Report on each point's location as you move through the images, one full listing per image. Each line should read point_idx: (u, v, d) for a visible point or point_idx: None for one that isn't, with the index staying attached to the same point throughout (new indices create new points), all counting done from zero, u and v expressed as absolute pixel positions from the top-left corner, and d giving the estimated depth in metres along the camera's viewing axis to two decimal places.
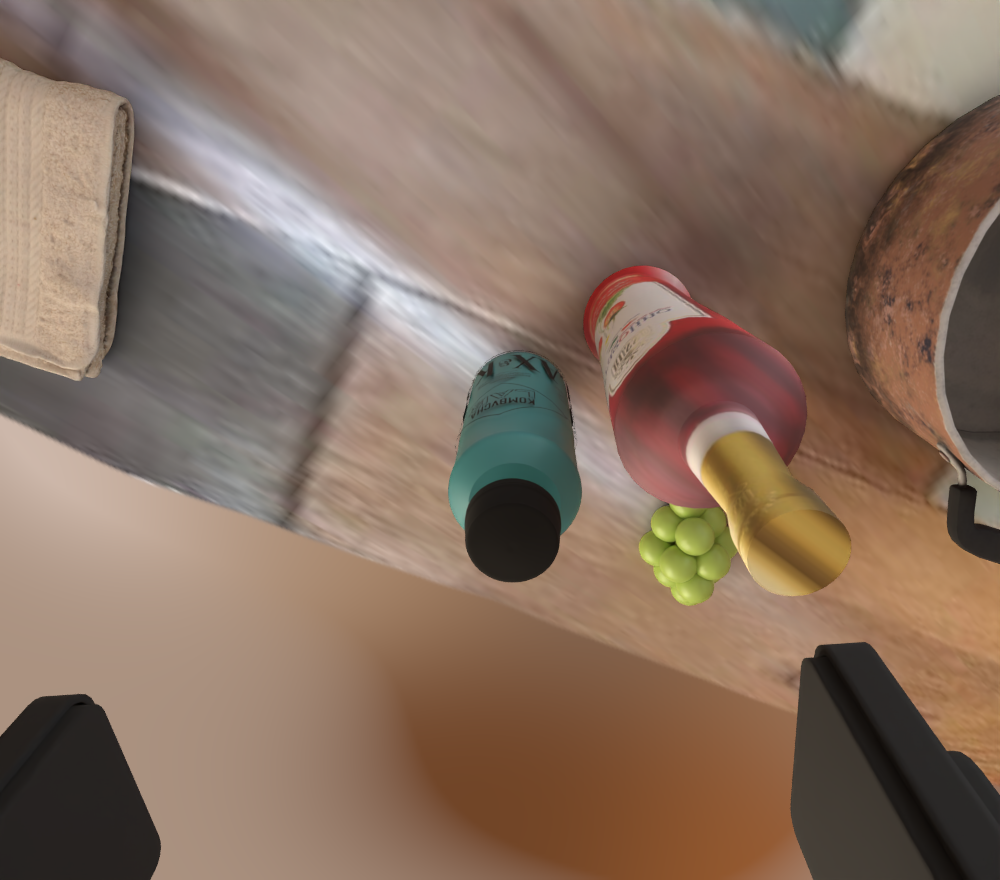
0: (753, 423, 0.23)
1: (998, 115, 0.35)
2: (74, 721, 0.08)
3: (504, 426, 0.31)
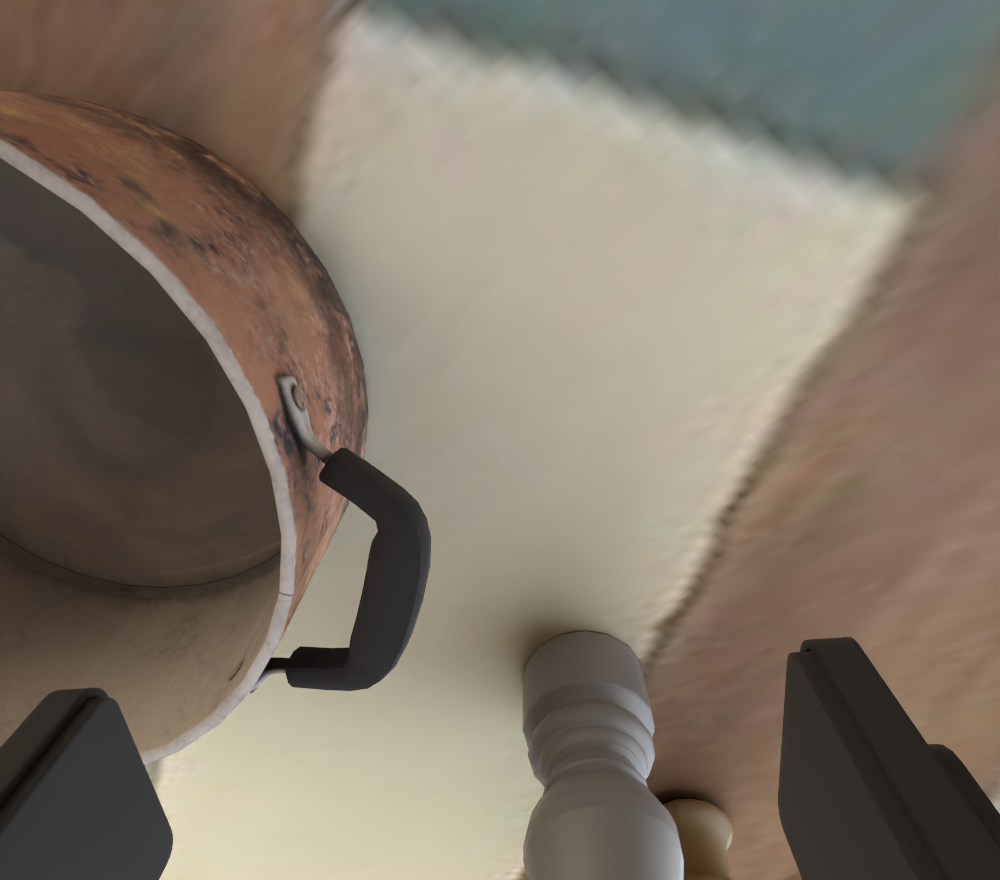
0: None
1: (257, 231, 0.22)
2: (89, 714, 0.08)
3: None
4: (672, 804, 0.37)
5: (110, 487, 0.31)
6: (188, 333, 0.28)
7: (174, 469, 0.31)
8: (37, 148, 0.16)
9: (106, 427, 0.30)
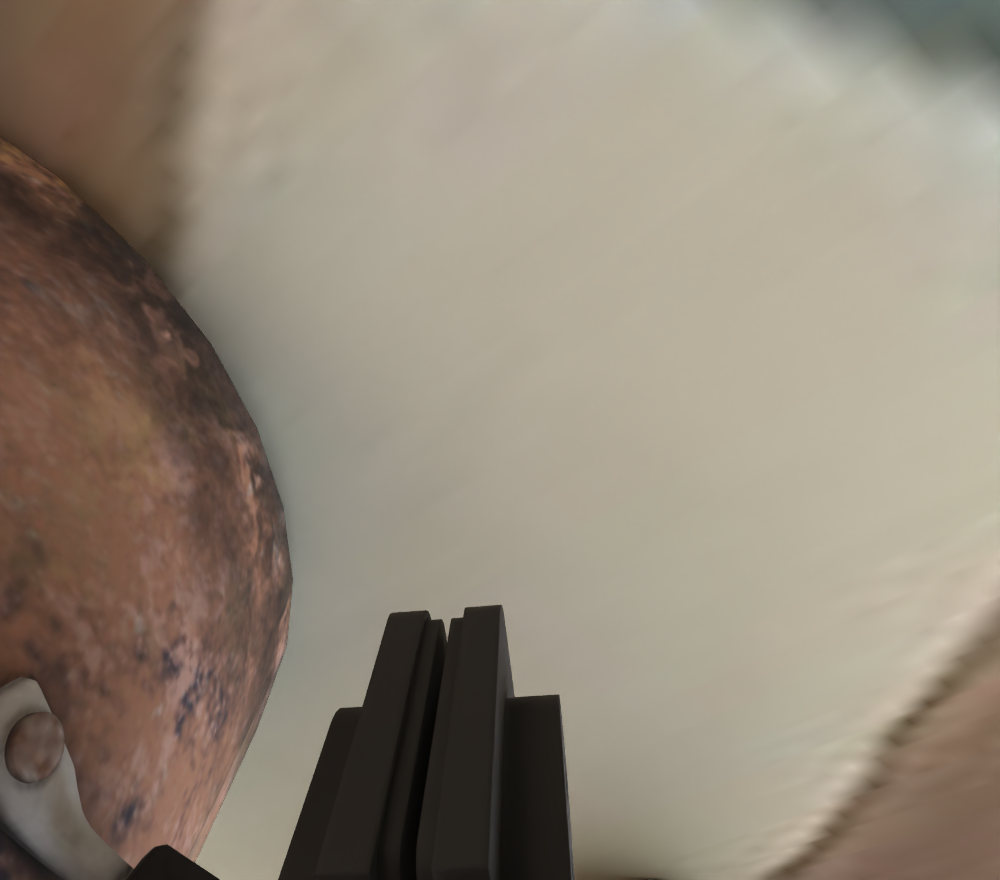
0: None
1: (22, 293, 0.10)
2: (434, 632, 0.09)
3: None
4: None
5: None
6: None
7: None
8: None
9: None
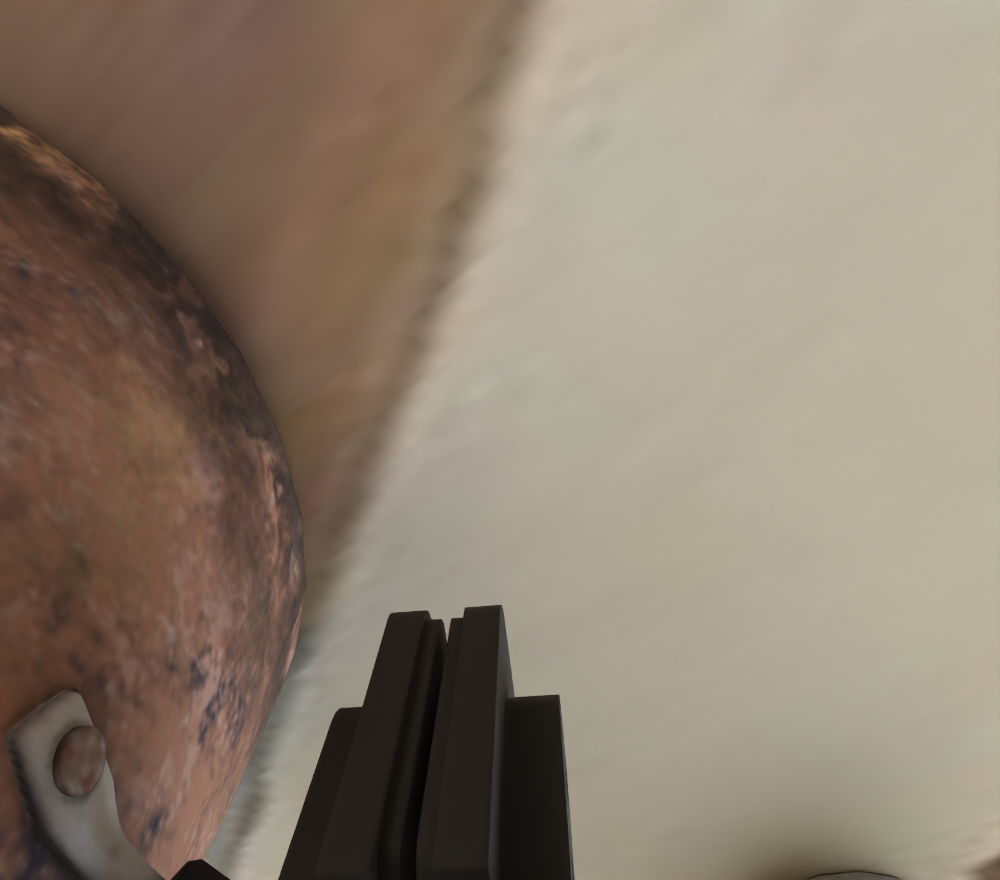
0: None
1: (67, 301, 0.10)
2: (434, 632, 0.09)
3: None
4: None
5: None
6: None
7: None
8: None
9: None
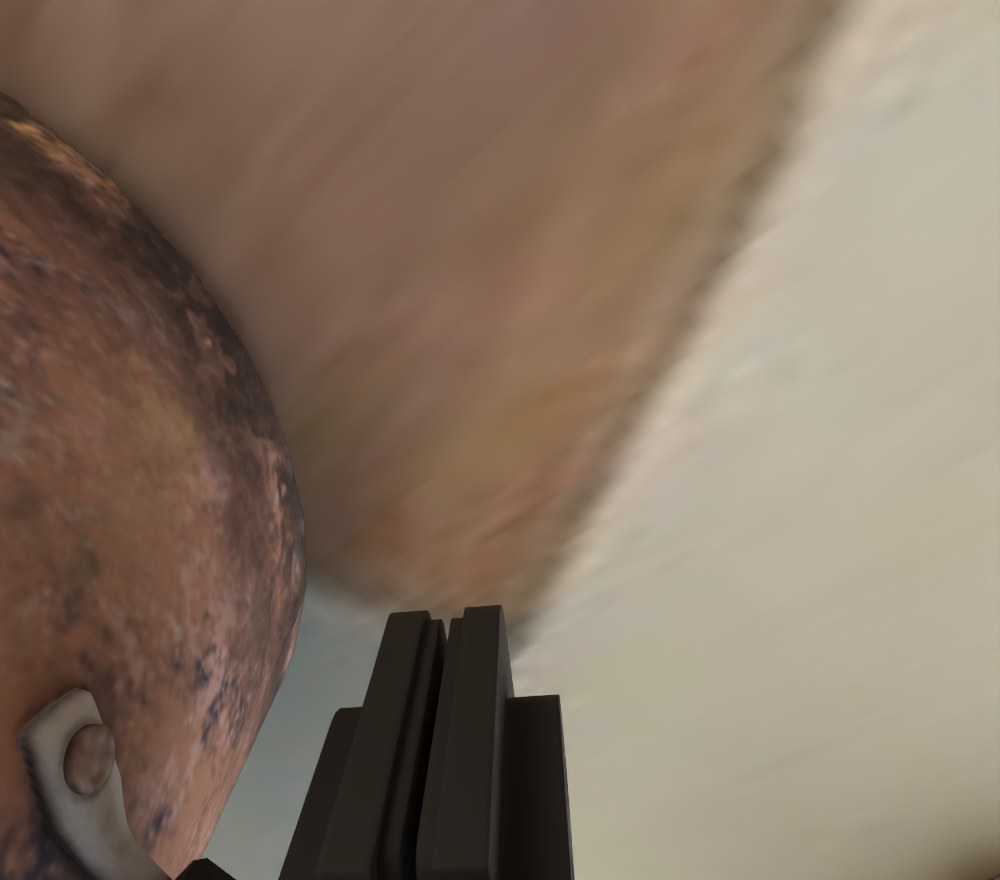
0: None
1: (81, 299, 0.10)
2: (434, 632, 0.09)
3: None
4: None
5: None
6: None
7: None
8: None
9: None
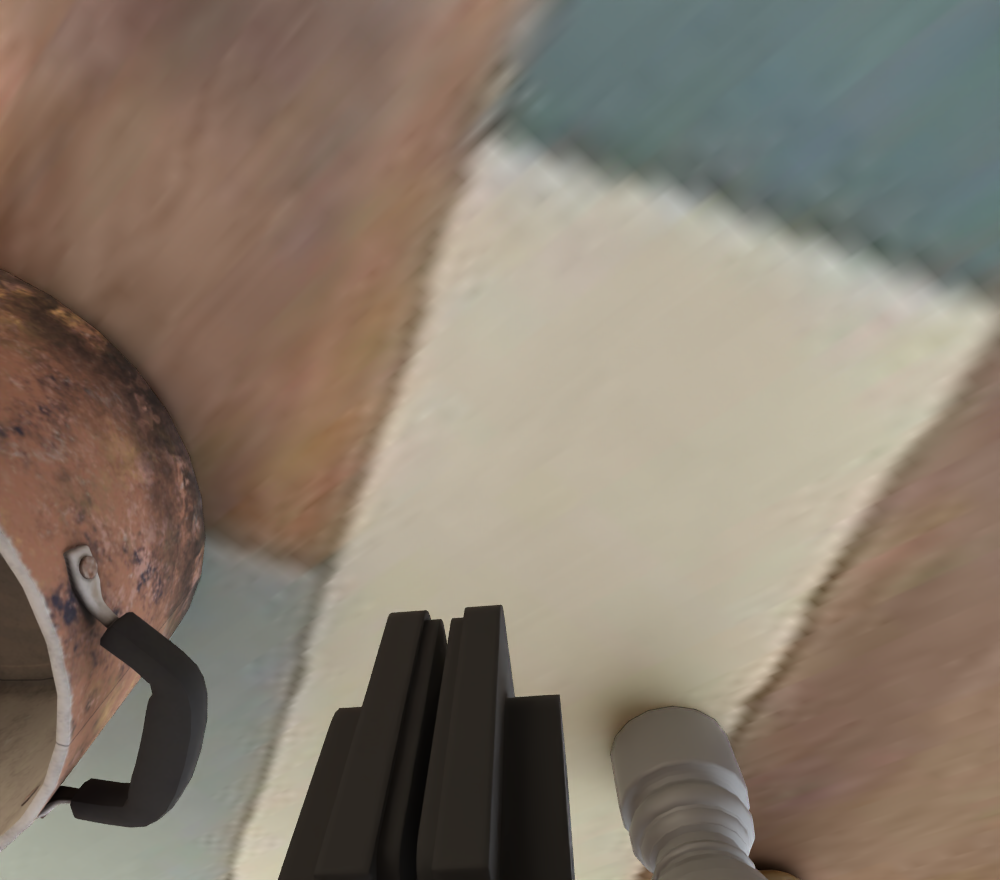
0: None
1: (84, 394, 0.24)
2: (434, 632, 0.09)
3: None
4: None
5: None
6: None
7: None
8: None
9: None
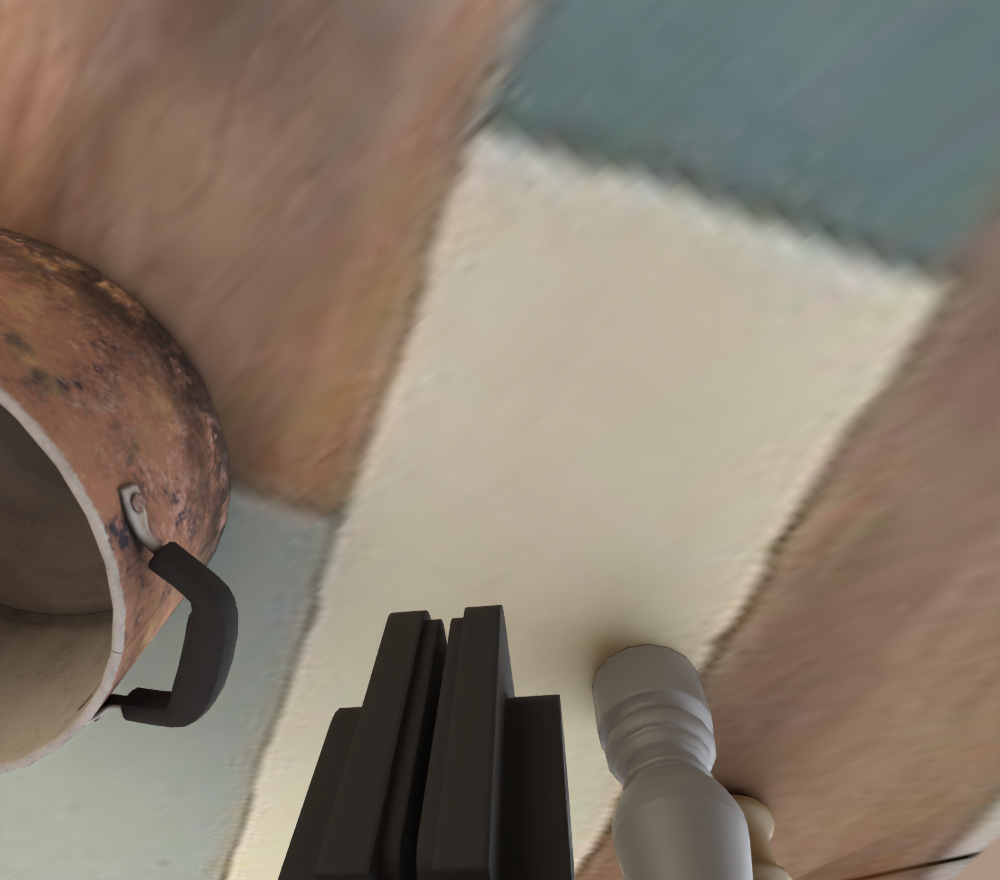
0: None
1: (129, 356, 0.28)
2: (434, 632, 0.09)
3: None
4: None
5: (9, 528, 0.36)
6: None
7: (65, 518, 0.36)
8: None
9: (8, 479, 0.35)
